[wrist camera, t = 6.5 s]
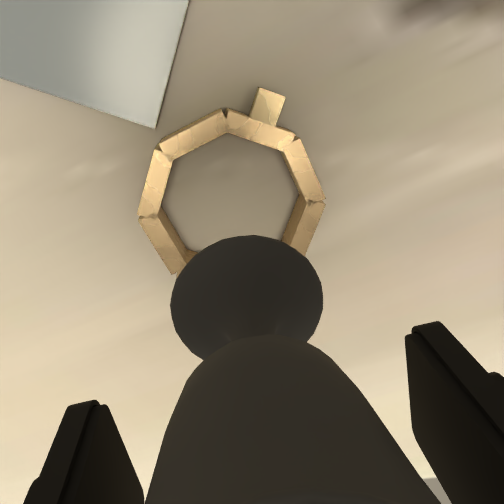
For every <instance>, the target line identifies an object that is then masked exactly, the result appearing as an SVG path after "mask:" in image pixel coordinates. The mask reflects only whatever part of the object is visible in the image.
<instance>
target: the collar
mask: <svg viewBox="0 0 504 504" xmlns="http://www.w3.org/2000/svg"><path fill="white" fill-rule="evenodd" d="M284 100H285V97H284V96H282V95H279V94H276V93H273V92H271V91H268V90H265V89H263V88H260V87H258V89H257V92H256V95H255V98H254V101H253V104H252V107H251V110H250V113H249V115H246V114H243V113H240V112H238V111H235V110H232V109H229V108H227V109H226V112H225V115H224V114H223V112H222V110H221V108H220V109H218V110H216V111H214V112H212V113H210V114H208V115H206V116H204V117H202V118H200V119H199V120H197V121H195V122H193V123H191V124H189V125H187V126H185V127H183V128H181V129H179V130H177V131H175V132H174V133H172V134H170V135H168V136H166V137H164V138H162V139H161V141H160V143H158V144H157V146H156V148H155V149H154V153H153V157H152V160H151V164H150V168H149V172H148V175H147V179H146V183H145V186H144V190H143V194H142V198H141V201H140V205H139V209H138V213H137V215H140V217H139V219H138V222H139V223H140V225H141V226H142V228H143V230H144V231H145V233H146V234H147V236H148V238H149V239H150V241H151V242H152V244H153V246H154V247H155V249H156V250H157V252H158V254H159V255H160V257H161V258H162V260H163V262H164V263H165V265H166V266H167V268H168V270H169V271H170V273H171V275H172V274H174V273H176V272H177V277H178V276H179V274H180V273H181V271H182V270H183V268H184V267H185V266H186V265H187V263H188V262H189V261H190V260H191V259H192V258H193V257H194V256H195V255H196V254H197V253H198V252H194V251H191V250H187V249H186V247H185V246H184V244H183V242H182V241H181V239H180V237H179V235H178V234H177V232H176V230H175V229H174V227H173V225H172V224H171V222H170V220H169V219H168V217H167V215H166V214H165V212H164V210H163V208H162V207H161V202H162V198H163V195H164V191H165V187H166V184H167V180H168V177H169V173H170V170H171V166H172V163H173V160H174V159H176V158H178V157H180V156H182V155H184V154H186V153H188V152H190V151H192V150H194V149H196V148H198V147H200V146H202V145H204V144H206V143H207V142H209V141H211V140H213V139H215V138H217V137H219V136H221V135H223V134H225V133H230V134H233V135H236V136H239V137H242V138H245V139H248V140H251V141H254V142H257V143H260V144H263V145H265V146H268V147H271V148H274V149H277V150H280V152H281V154H282V156H283V159H284V161H285V163H286V165H287V167H288V170H289V172H290V174H291V176H292V178H293V181H294V183H295V185H296V187H297V189H298V192H299V196H298V198H297V201H296V203H295V206H294V209H293V211H292V214H291V216H290V219H289V222H288V224H287V227H286V229H285V232H284V235H283V237H282V240H281V241H282V242H285V243H286V244H288V245H289V246H291V247H293V248H294V249H296V250H297V251H298V252H300V253H301V254H302V255H303V256H305V254H306V252H307V249H308V247H309V244H310V242H311V239H312V237H313V234H314V232H315V230H316V227H317V225H318V222H319V220H320V217H321V215H322V212H323V210H324V208H325V205H326V204H325V203H324V202H323V201H322V200H324V199H326V198H325V196H324V193H323V191H322V189H321V186H320V184H319V182H318V179H317V177H316V175H315V172H314V170H313V168H312V166H311V163H310V161H309V159H308V156H307V154H306V152H305V149H304V147H303V145H302V142H301V140H300V138H298V137H297V136H295V134H294V133H293V132H291V131H290V130H288V129H286V128H283V127H280V126H277V125H276V123H277V120H278V117H279V115H280V112H281V109H282V106H283V103H284Z"/></svg>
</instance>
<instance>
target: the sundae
mask: <svg viewBox="0 0 504 504" xmlns="http://www.w3.org/2000/svg"><path fill="white" fill-rule="evenodd" d="M170 308H171V315H172V320H173V324H174V327H175V330H176V332H177V334H178V335H179V337H180V338H181V340H182V342H183V343H184V344H185V345H186V346H187V347H188V349H189V350H190V351H191V352H192V353H193V354H195V355H196V356H198V357H199V358H201V359H202V360H204V361H203V362H202V363H201V364H200V365H199V366H198V367H197V368H196V369H195V370H194V371H193V373H192V374H191V376H190V377H189V378H188V380H187V381H186V384H185V386H184V388H183V391H182V393H181V395H180V398H179V400H178V402H177V405H176V407H175V409H174V411H173V414H172V416H171V419H170V421H169V424H168V426H167V429H166V431H165V434H164V438H163V441H162V445H161V448H160V452H159V455H158V459H157V462H156V466H155V469H154V473H153V476H152V480H151V483H150V487H149V490H148V494H147V497H146V501H145V504H441V503H440V501H439V500H438V499H437V498H436V496H435V495H434V494H433V492H432V491H431V490H430V488H429V487H428V486H427V485H426V483H425V482H424V481H423V479H422V478H421V477H420V476H419V474H418V473H417V471H416V470H415V468H414V467H413V466H412V464H411V463H410V461H409V460H408V458H407V457H406V456H405V454H404V453H403V451H402V450H401V448H400V447H399V445H398V444H397V443H396V441H395V440H394V438H393V437H392V435H391V434H390V432H389V431H388V430H387V428H386V427H385V425H384V424H383V422H382V421H381V419H380V418H379V417H378V415H377V414H376V412H375V411H374V409H373V408H372V406H371V405H370V404H369V402H368V401H367V399H366V398H365V397H364V395H363V394H362V393H361V391H360V390H359V389H358V387H357V386H356V385H355V384H354V383H353V382H352V381H351V380H350V379H349V377H348V376H347V375H346V374H345V373H344V372H343V371H342V370H341V369H340V368H339V366H338V365H337V364H336V363H335V362H334V361H333V360H332V359H331V358H330V357H329V356H327V355H326V354H325V353H324V352H322V351H321V350H320V349H318V348H316V347H314V346H312V345H311V344H309V343H307V341H308V340H309V339H310V337H311V336H312V335H313V334H314V332H315V329H316V327H317V325H318V323H319V320H320V317H321V313H322V310H323V293H322V286H321V282H320V280H319V277H318V275H317V273H316V271H315V269H314V268H313V266H312V265H311V263H310V262H309V260H308V259H307V258H306V257H304V256H303V255H302V254H301V253H300V252H298V251H297V250H296V249H294V248H293V247H291V246H289V245H288V244H286V243H285V242H282V241H279V240H275V239H272V238H268V237H262V236H257V235H249V236H237V237H233V238H228V239H223V240H220V241H218V242H216V243H214V244H212V245H210V246H208V247H207V248H205V249H204V250H202V251H200V252H199V253H197V254H196V255H195V256H194V257H193V258H192V259H191V260H190V261H189V262H188V263H187V265H186V266H185V267H184V268H183V270H182V271H181V273H180V274H179V276H178V277H177V279H176V282H175V285H174V288H173V291H172V297H171V303H170Z"/></svg>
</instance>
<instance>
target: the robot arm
mask: <svg viewBox="0 0 504 504" xmlns="http://www.w3.org/2000/svg"><path fill="white" fill-rule="evenodd" d="M405 348H406V360H407V373H408V385H409V397H410V410H411V422H412V429H413V433H414V436H415V439H416V441H417V443H418V445H419V447H420V448H421V450H422V452H423V454H424V455H425V457H426V459H427V461H428V462H429V464H430V466H431V468H432V469H433V471H434V473H435V475H436V477H437V478H438V480H439V482H440V483H441V485H442V487H443V489H444V491H445V492H446V494H447V496H448V497H449V499H450V501H451V503H452V504H504V377H503V376H502V375H500V374H499V373H496V372H491V373H488V372H487V371H486V370H485V369H484V368H483V367H482V366H481V365H480V364H479V363H478V362H477V361H476V359H475V358H474V357H473V356H472V355H471V354H470V353H469V352H468V351H467V350H466V349H465V348H464V347H463V345H462V344H461V343H460V342H459V341H458V340H457V339H456V338H455V337H454V336H453V335H452V334H451V333H450V331H449V330H448V329H447V328H446V327H445V326H444V325H443V324H442V323H441V322H439V321H436V322H431V323H427V324H422V325H418V326H414V327H413V328H412V334H409V335H406V336H405ZM23 504H144V494H143V489H142V487H141V484H140V482H139V479H138V477H137V475H136V472H135V470H134V467H133V465H132V463H131V460H130V458H129V455H128V453H127V450H126V448H125V446H124V443H123V441H122V438H121V436H120V434H119V431H118V429H117V426H116V424H115V422H114V419H113V417H112V414H111V412H110V410H109V408H108V406H107V405H106V404H103V405H100V404H99V402H98V401H97V400H91V401H86V402H82V403H78V404H73V405H70V406H68V407H67V409H66V411H65V414H64V416H63V419H62V421H61V424H60V426H59V429H58V431H57V434H56V436H55V438H54V441H53V443H52V446H51V448H50V451H49V453H48V456H47V458H46V461H45V463H44V466H43V468H42V471H41V473H40V476H39V477H38V478H37V479H36V480H34V481H33V483H32V485H31V487H30V488H29V491H28V493H27V496H26V498H25V500H24V503H23Z"/></svg>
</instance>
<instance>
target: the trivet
mask: <svg viewBox="0 0 504 504" xmlns="http://www.w3.org/2000/svg"><path fill="white" fill-rule="evenodd" d="M188 4H189V0H0V78H2V79H5V80H8V81H11V82H14V83H17V84H20V85H23V86H26V87H29V88H32V89H35V90H38V91H41V92H44V93H47V94H50V95H53V96H56V97H59V98H62V99H65V100H68V101H71V102H74V103H77V104H80V105H83V106H86V107H89V108H92V109H95V110H98V111H102V112H105V113H108V114H111V115H114V116H117V117H120V118H123V119H126V120H129V121H132V122H135V123H138V124H141V125H144V126H147V127H150V128H153V129H155V128H156V125H157V121H158V117H159V113H160V110H161V106H162V102H163V98H164V94H165V91H166V87H167V83H168V79H169V76H170V72H171V68H172V64H173V61H174V57H175V53H176V49H177V45H178V42H179V38H180V34H181V30H182V27H183V23H184V19H185V15H186V12H187V8H188Z"/></svg>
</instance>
